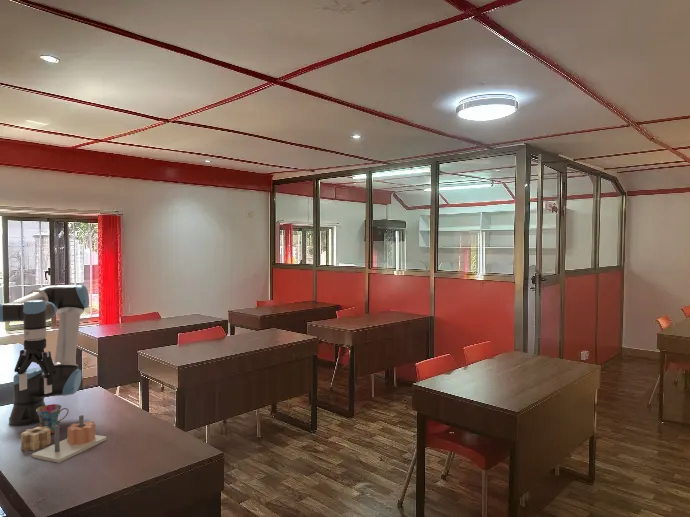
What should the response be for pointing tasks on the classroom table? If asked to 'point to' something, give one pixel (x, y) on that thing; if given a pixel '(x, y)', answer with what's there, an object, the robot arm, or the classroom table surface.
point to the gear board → (71, 442)
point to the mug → (50, 416)
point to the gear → (35, 438)
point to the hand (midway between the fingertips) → (35, 391)
